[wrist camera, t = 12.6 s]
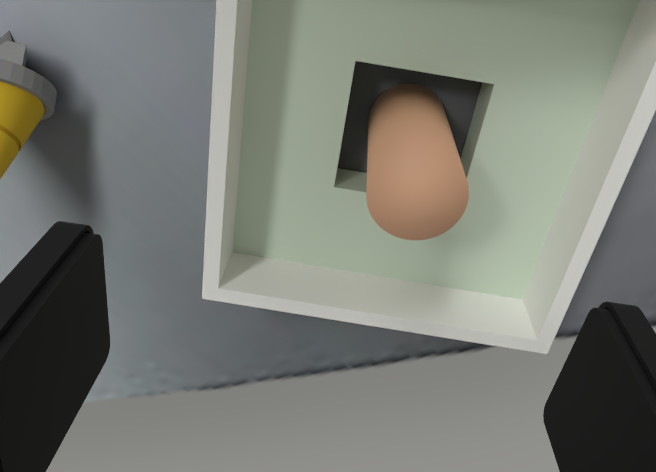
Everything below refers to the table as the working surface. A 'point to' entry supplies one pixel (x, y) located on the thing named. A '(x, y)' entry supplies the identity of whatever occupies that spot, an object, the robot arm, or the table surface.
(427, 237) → the peg
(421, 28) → the holed box
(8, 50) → the yellow tapered spiral part
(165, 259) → the table surface
